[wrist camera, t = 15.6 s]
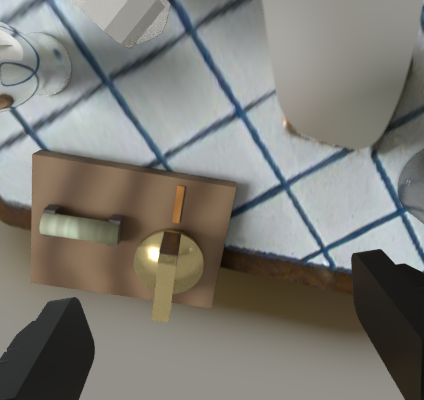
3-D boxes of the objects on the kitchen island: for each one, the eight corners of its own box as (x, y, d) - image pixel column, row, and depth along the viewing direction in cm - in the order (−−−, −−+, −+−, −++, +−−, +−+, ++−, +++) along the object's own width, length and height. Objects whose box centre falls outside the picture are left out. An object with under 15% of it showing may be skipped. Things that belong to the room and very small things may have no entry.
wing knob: (138, 224, 43) (127, 249, 37) (208, 233, 43) (208, 259, 37) (132, 285, 45) (122, 317, 40) (198, 293, 46) (197, 325, 40)
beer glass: (42, 12, 37) (-58, -17, 23) (90, 73, 39) (25, 80, 25) (-8, 56, 38) (-131, 55, 24) (41, 113, 40) (-46, 141, 26)
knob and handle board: (235, 182, 43) (238, 196, 39) (211, 298, 49) (211, 322, 44) (40, 150, 42) (20, 160, 37) (37, 273, 47) (20, 296, 43)
